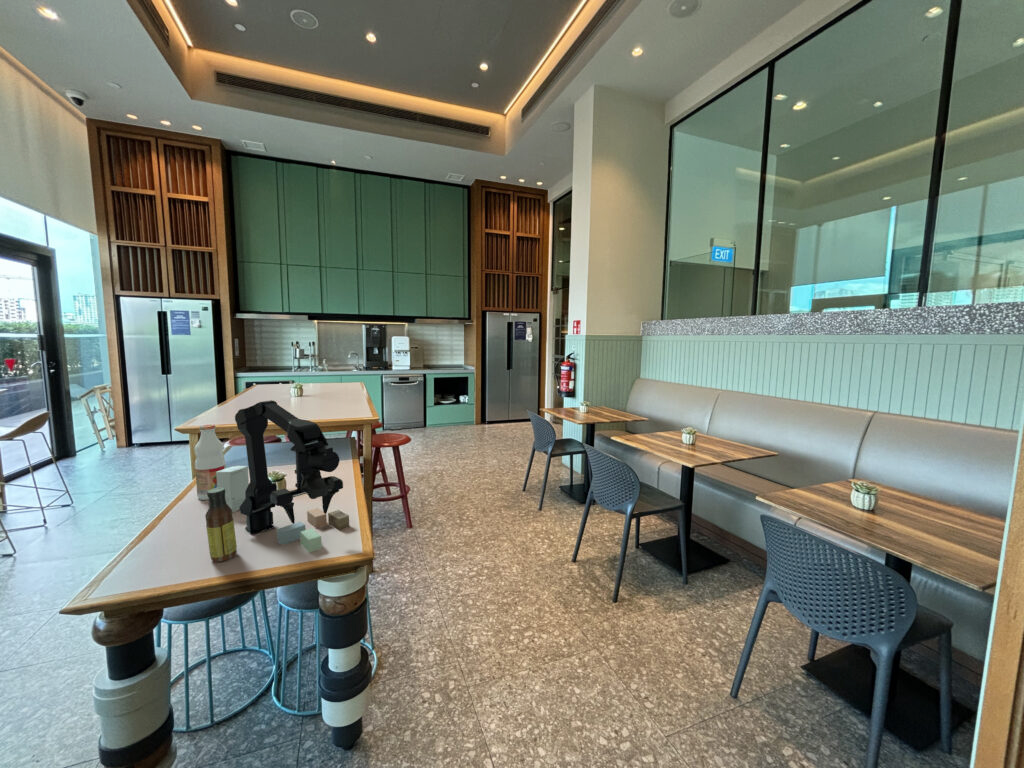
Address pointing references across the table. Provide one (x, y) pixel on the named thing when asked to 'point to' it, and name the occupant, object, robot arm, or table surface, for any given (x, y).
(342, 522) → the walnut brick
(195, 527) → the table surface
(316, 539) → the sage brick
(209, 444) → the fruit juice
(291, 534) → the slate brick
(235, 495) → the skincare box
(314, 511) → the tan brick
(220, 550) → the sauce bottle
